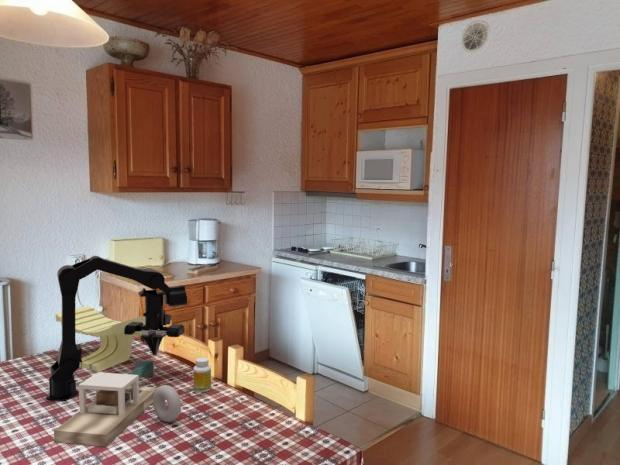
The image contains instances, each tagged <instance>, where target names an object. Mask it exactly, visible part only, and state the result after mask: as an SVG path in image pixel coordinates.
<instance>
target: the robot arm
mask: <svg viewBox="0 0 620 465" xmlns="http://www.w3.org/2000/svg"><path fill="white" fill-rule="evenodd" d="M97 271H101V272H104V273H107V274H111V275H114V276H119V277H121V278H125V279H129V280H132V281H135V282H137V283H139V284H140V285H143V286H144V287H147V288H148V290H147V289H145V288H144V287H143V288H142V289H141V290H140V291H139V292H138V295H139V297H140V298H144V312H143V313H142V314H143V315H142V316H145V325H144V326H143V323H142V322H132V323H130V324H128V325H126V326H125V328H124V334H128V335H133V334H134V333H135V331H142V335H141V337H140V338H142V339H143V340H144V342H145V343H146V345H147V347H148V348H149V350H150V352H151V354H152V356H157V354H158V351H159V349H160V346H161V343H162V341H163V339H164V338H165V337H166V336H167V337H168V338H179V337H180V336H182V335H184V334H185V326H184V324H179V323H177V324H176V323H172V324H171V319H172V315H171V314H167V313H166V310H165V309H164V305H167V307H168V308H172V307H182V306H187V304H188V295H187V291H186V286H185V285H183V284H181V285H176V286H174V285H173V286H170V285H168V284H167V283H166V282H165V276H164V274H162V273H161V272H160V271H158V270H156V269H153V268H152V269H151V268H145V267H143V268H142V267H141V268H140V267H134V266H130V265H126V264H123V263H120V262H117V261H114V260H110V259H107V258H106V259H105V258H103V257H100V255H99V256H98V255H92V256H91V257H89V258H87V259H84V260H81V261H78V262H76V263H73V264H72V265H70V264H67V265H63V266H61V267H60V268H59V269H58V271H57V275H56V276H57V280H58V286H59V290H60V295H61V312H62V325H61V341H60V346H59V350H58V354H57V359H56V361H55V362H54V363H53V364H51V366H50V367H49V368H50V376H49V378H48V382H49V383H48V384H49V386H48V387H49V395H48V396H47V397H45V399H46V400H52V401H63V402H64V401H67V400H69V399H71V398H72V397H73V396H75V395H76V394H79V390H77V382H76V380H75V374H74V373H75V372H77V370H78V369H79V368H80V367H79V366H80V362H81V363H82V359H81V358H82V354H83V353H82V352H83V348H82V345H81V343H76V333H75V309H76V296H77V293H78V289H79V284H80V280H83V279H85V278H87V276H90V275H91V274H92V273H94V272H97ZM157 290H160V291H157ZM167 325H169V326H167Z"/></svg>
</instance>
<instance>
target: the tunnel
mask: <svg viewBox="0 0 620 465" xmlns="http://www.w3.org/2000/svg"><path fill="white" fill-rule="evenodd" d="M132 383H133V384H132ZM131 384H132V385H131ZM130 385H131V386H133V404H138V403H139V386H140V379H139V375H131V374H129V373H128V374H126V373H115V372H113V373H112V372H102V371H100V372H98V371H96V373H95V374H93V375H92V376H90V377H88V378H87V379H85V380H84V381H82V382H80V383H79V384H78V397H79V398H78V399H79V401H78V403H79V411H80V414H84V413H86V406H87V391H86V390H95V394H96V393H97V392H99V391H100V390H109V391H118V407H119V417H123V416H125V389H126V388H127V387H129V386H130Z"/></svg>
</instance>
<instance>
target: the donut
mask: <svg viewBox="0 0 620 465" xmlns="http://www.w3.org/2000/svg"><path fill="white" fill-rule="evenodd" d="M156 388H157V389H156V391H155V392H154V395H153V403H152V406H153V411H154V413H155V414H156V416H157V417H158V418H159V420H160V421H162V422H165V423H172V422H173V421H174V422H175V420H177V419H178V418H179V416H180V413H181V411H182V401H181V397H180V395H179V393H178V391H177V390H176V389H175V388H174V387H173V386H171V385H167V384H164V385H160V386H158V387H156ZM166 402H167V403H166Z"/></svg>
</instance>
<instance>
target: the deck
mask: <svg viewBox="0 0 620 465" xmlns="http://www.w3.org/2000/svg"><path fill="white" fill-rule="evenodd" d="M157 388H158V387H152V386H140V385H139V403H138V404H133V385H131V386H130V387H128V388H127V389H126V390H125V392H131V402H130V403H129V404H128V405H127V406H126V407H125V416H123V417H119V413H117V414H104V413H91V412H88V404H86V413H84V414H80V410H79V411H78V412H77V413H75V414H74V415H73V416H72V417H69V419H67V420H66V421H65V422H63V423H61V425H59V426H58V427H56V428H55V429H54V430H53V439H54V441H53V442H54V443H62V444H63V443H65V444H74V445H75V444H76V445H87V446H97V447H105V448H106V447H107V446H109V445H110V444H111V443H112V442H113V441H114V440H115V439H116V438H117V437H118V436H119V435H120V434H121V433H122V432H124V430H125V429H127V428H128V427H129V426H131V424H132V423H133V422H134V421H135V420H136V419H138V417H139V416H140V415H142V414H143V413H144V412H145V410H147V409H148V408H149V407H150V406H151V405H153V395H154V392H155V391H156V389H157ZM90 403H96V398H95V399H94V400H93V401H92V402H90Z"/></svg>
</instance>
